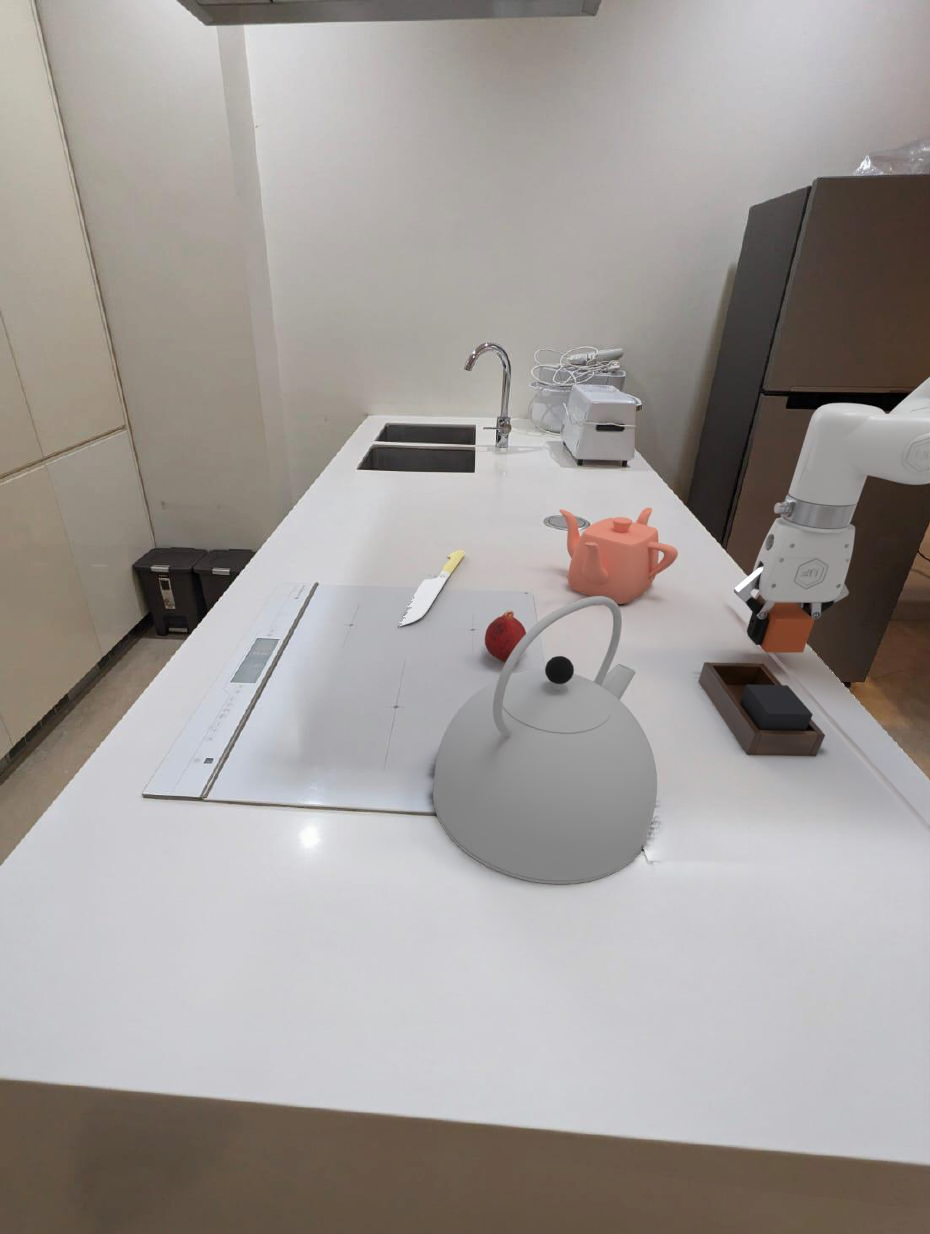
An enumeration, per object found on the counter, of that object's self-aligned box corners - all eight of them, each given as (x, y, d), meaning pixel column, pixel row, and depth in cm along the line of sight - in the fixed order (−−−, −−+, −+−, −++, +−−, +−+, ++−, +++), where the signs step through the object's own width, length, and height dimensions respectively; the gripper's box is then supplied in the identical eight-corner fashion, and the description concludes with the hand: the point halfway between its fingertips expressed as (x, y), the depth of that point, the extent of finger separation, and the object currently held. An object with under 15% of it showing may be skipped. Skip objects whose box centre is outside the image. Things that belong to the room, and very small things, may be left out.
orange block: (781, 632, 91) (792, 600, 88) (803, 652, 85) (815, 619, 83) (747, 632, 91) (756, 600, 88) (765, 652, 85) (776, 619, 83)
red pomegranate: (503, 676, 87) (508, 625, 83) (474, 659, 91) (478, 609, 86) (532, 663, 90) (538, 612, 86) (503, 647, 94) (507, 598, 89)
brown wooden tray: (755, 685, 86) (763, 663, 84) (814, 759, 73) (825, 735, 71) (697, 684, 86) (704, 661, 84) (745, 758, 73) (754, 733, 71)
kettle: (539, 702, 82) (563, 535, 70) (704, 795, 67) (769, 605, 55) (389, 788, 68) (386, 596, 55) (557, 929, 53) (602, 712, 41)
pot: (549, 567, 120) (557, 502, 113) (638, 565, 121) (652, 501, 114) (575, 611, 104) (586, 538, 98) (677, 609, 105) (695, 537, 99)
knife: (390, 623, 98) (418, 622, 97) (442, 549, 125) (466, 547, 123) (391, 630, 99) (420, 630, 97) (443, 555, 126) (467, 554, 124)
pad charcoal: (774, 718, 79) (787, 685, 76) (798, 749, 74) (813, 714, 71) (734, 717, 79) (746, 684, 76) (755, 748, 73) (768, 713, 71)
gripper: (762, 521, 75) (724, 653, 85) (905, 521, 75) (851, 654, 85) (736, 503, 82) (703, 628, 91) (868, 503, 81) (821, 628, 91)
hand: (775, 639), depth 88 cm, fingers closed on orange block, 5 cm apart
